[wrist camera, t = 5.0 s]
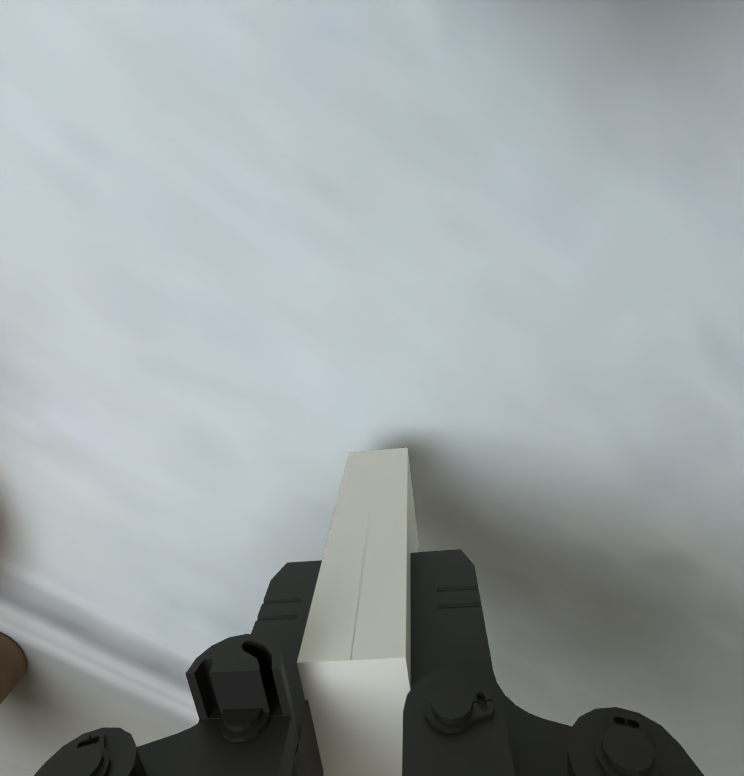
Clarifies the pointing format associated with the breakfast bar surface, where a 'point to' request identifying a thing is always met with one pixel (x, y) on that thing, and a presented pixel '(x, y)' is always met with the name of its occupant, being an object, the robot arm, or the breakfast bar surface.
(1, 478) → the breakfast bar surface
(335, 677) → the robot arm
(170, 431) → the breakfast bar surface
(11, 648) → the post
